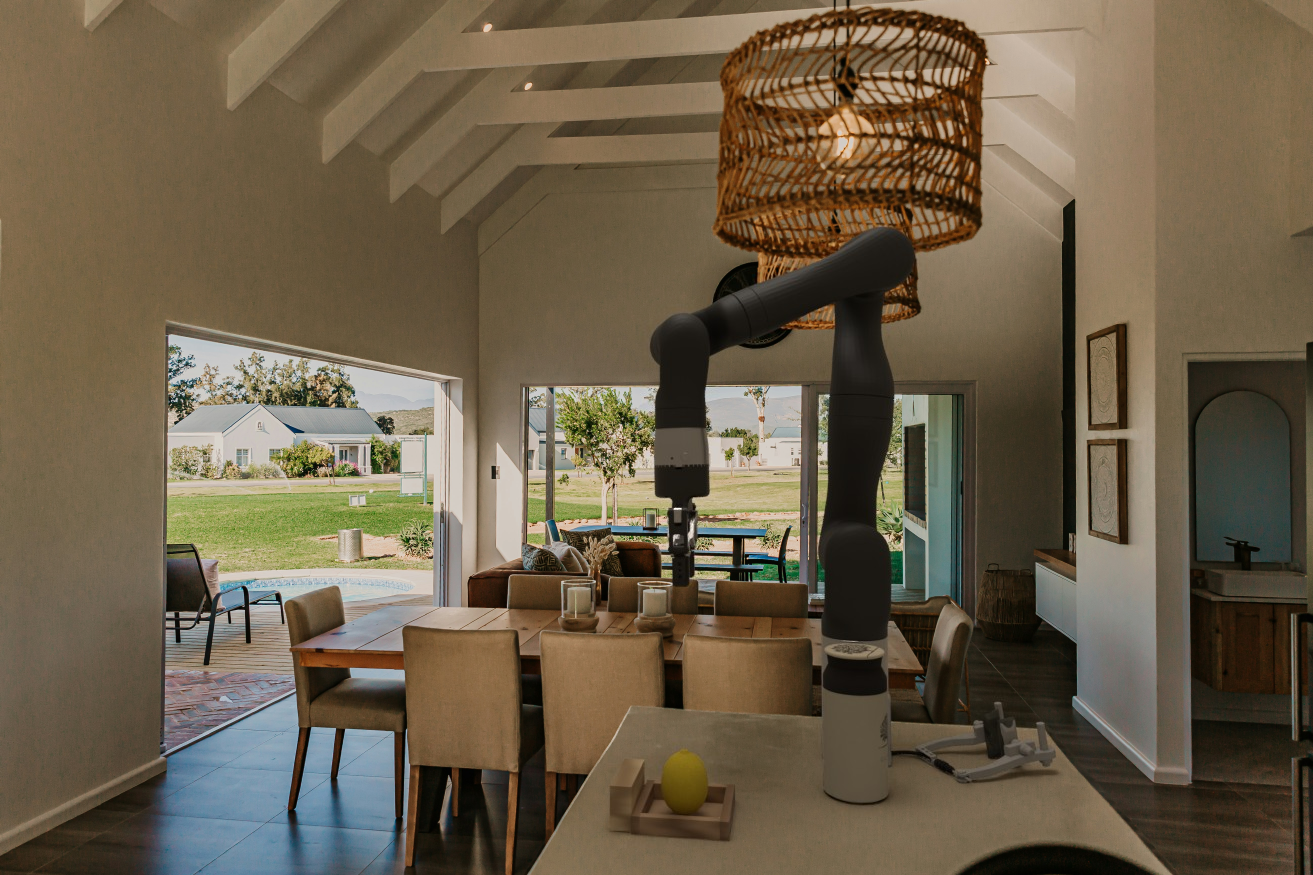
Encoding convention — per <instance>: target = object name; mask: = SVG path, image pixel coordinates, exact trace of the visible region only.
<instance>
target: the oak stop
mask: <svg viewBox="0 0 1313 875" xmlns="http://www.w3.org/2000/svg"><path fill="white" fill-rule="evenodd" d="M645 761H646V760H645V759H643V758H641V759H639V758H624V759H623V761H622V763H621V765H620V766H619V769H618V770H617V772H616V774H615V776H614V777H613V779H612V780H611V783H610V784H609V831H610V832H611V831H612V832H626V833H627V832H628V833H631V815H632V812H633V810H634V808H635V806H636V803H637V801H638V799H639V797H640V794H641V792H642V790H643V788H644V785H645V783H646V781H645V780H646V777H645V775H646V774H645V772H646V771H645V769H646V768H645Z"/></svg>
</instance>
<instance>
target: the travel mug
mask: <svg viewBox="0 0 1313 875" xmlns="http://www.w3.org/2000/svg"><path fill="white" fill-rule="evenodd" d="M824 651H825V653H826V654H827V659H828V664H827V666H826V668H825V670H824V672H823V755H822V757H823V758H822V759H823V764H822V765H823V790H824V791H825V793H827V794H828V795H829V796H831V797H833V798H835V799H837V800H840V801H843V802H846V803H852V804H873V803H876V802H878V801H882V800H883V799H885V798H886V797H888V795H889V765H888V718H887V676H886V674H885V672H884V670H883V668H882V666H881V664H882V657H883V656H884V654H885V652H884V650H883V649H881V648H879V647H876V646H872V645H866V644H854V643H843V644H833V645H829V646H827V647H825V649H824Z"/></svg>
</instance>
